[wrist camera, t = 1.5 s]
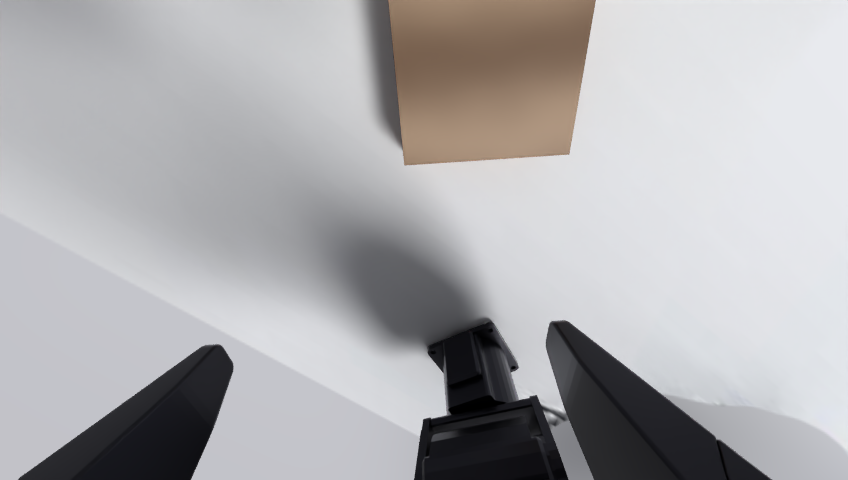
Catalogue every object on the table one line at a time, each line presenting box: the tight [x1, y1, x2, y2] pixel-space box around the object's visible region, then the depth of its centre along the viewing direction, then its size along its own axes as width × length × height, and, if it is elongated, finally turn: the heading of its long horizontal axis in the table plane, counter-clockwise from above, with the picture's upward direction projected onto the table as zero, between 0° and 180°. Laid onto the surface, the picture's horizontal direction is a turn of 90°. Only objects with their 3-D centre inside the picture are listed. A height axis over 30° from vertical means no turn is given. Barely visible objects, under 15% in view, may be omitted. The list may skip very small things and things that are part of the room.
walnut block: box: [388, 0, 596, 165], centre depth 15 cm, size 9×9×3 cm
